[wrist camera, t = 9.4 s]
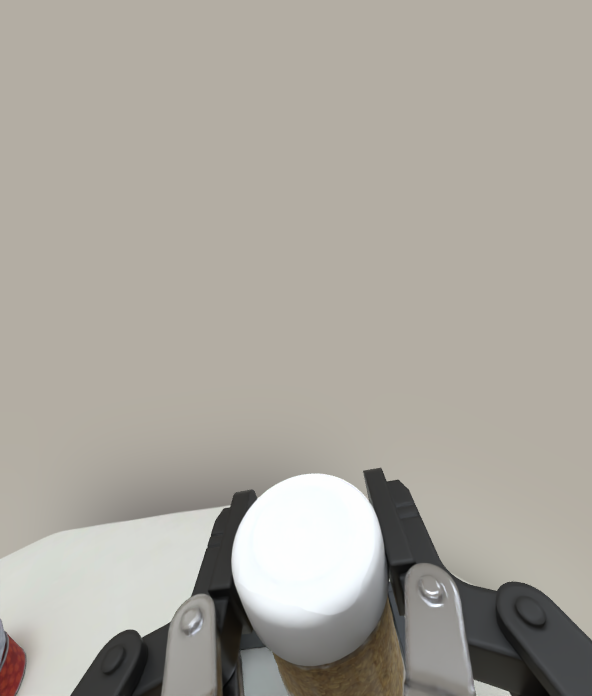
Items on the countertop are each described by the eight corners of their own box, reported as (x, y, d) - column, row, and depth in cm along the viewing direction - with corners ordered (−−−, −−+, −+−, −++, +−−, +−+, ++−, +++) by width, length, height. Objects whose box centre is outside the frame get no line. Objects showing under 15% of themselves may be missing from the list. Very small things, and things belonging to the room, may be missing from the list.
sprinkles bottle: (439, 727, 12) (409, 504, 8) (393, 892, 10) (309, 682, 5) (352, 643, 16) (298, 451, 11) (298, 748, 13) (198, 545, 9)
